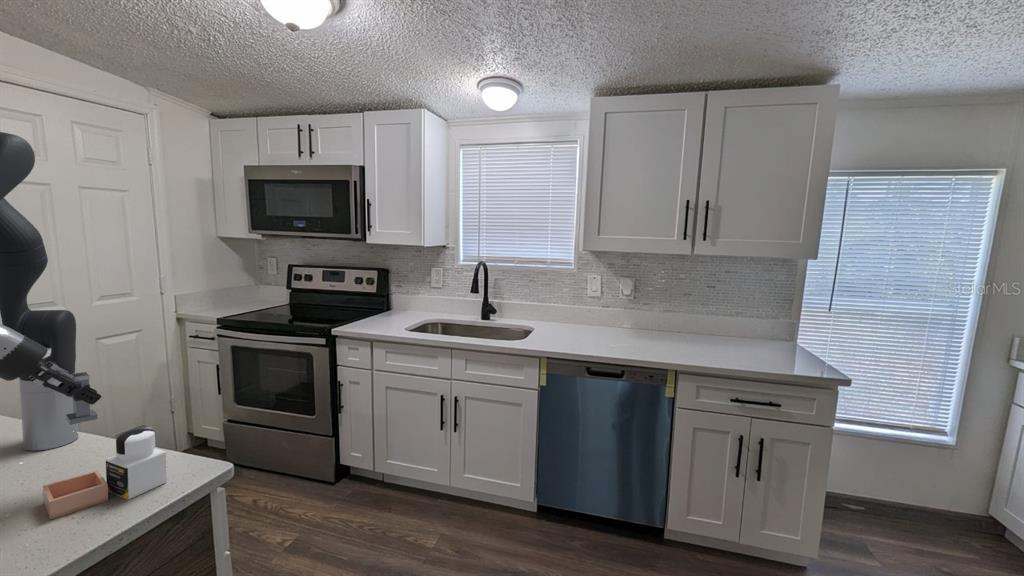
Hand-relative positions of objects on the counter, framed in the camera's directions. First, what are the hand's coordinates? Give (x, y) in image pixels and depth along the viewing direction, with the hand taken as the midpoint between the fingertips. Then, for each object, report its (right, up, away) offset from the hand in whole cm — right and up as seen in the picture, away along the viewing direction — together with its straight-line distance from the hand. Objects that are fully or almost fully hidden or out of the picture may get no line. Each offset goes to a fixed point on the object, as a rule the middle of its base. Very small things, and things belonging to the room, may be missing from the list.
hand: (94, 397), depth 88 cm
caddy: (+2, -19, -6) cm, 20 cm away
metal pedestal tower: (-1, -4, -1) cm, 5 cm away
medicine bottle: (+9, -19, 0) cm, 21 cm away
